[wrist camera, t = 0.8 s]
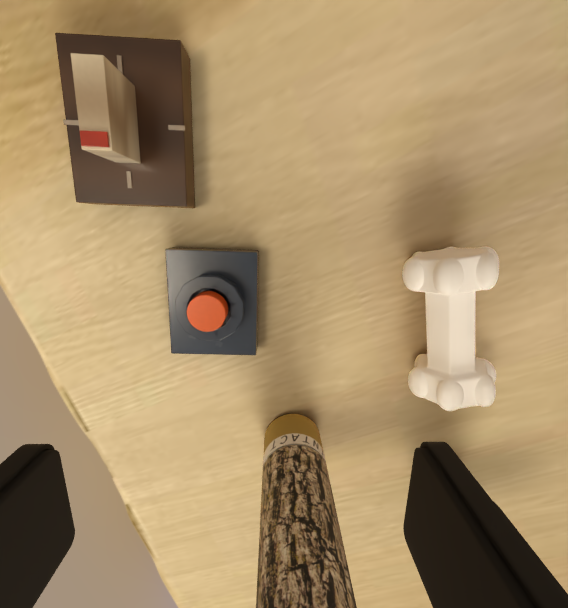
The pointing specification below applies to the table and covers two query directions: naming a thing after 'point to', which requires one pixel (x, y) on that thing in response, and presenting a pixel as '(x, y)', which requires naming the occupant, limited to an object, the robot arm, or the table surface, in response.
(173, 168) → the panel
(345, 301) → the table surface
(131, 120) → the beige block
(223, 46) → the table surface
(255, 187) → the table surface
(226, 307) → the button
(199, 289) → the button box
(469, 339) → the dog bone
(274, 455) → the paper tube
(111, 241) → the table surface
